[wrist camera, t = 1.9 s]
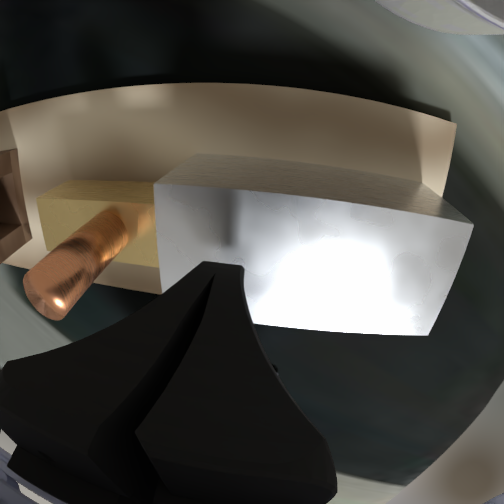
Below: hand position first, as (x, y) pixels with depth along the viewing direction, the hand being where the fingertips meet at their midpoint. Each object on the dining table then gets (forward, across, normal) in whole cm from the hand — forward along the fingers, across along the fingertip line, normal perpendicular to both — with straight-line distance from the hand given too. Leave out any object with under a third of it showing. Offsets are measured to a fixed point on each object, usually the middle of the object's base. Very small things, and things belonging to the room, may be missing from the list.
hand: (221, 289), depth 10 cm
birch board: (+8, +6, 0) cm, 10 cm away
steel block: (+7, -3, 0) cm, 8 cm away
